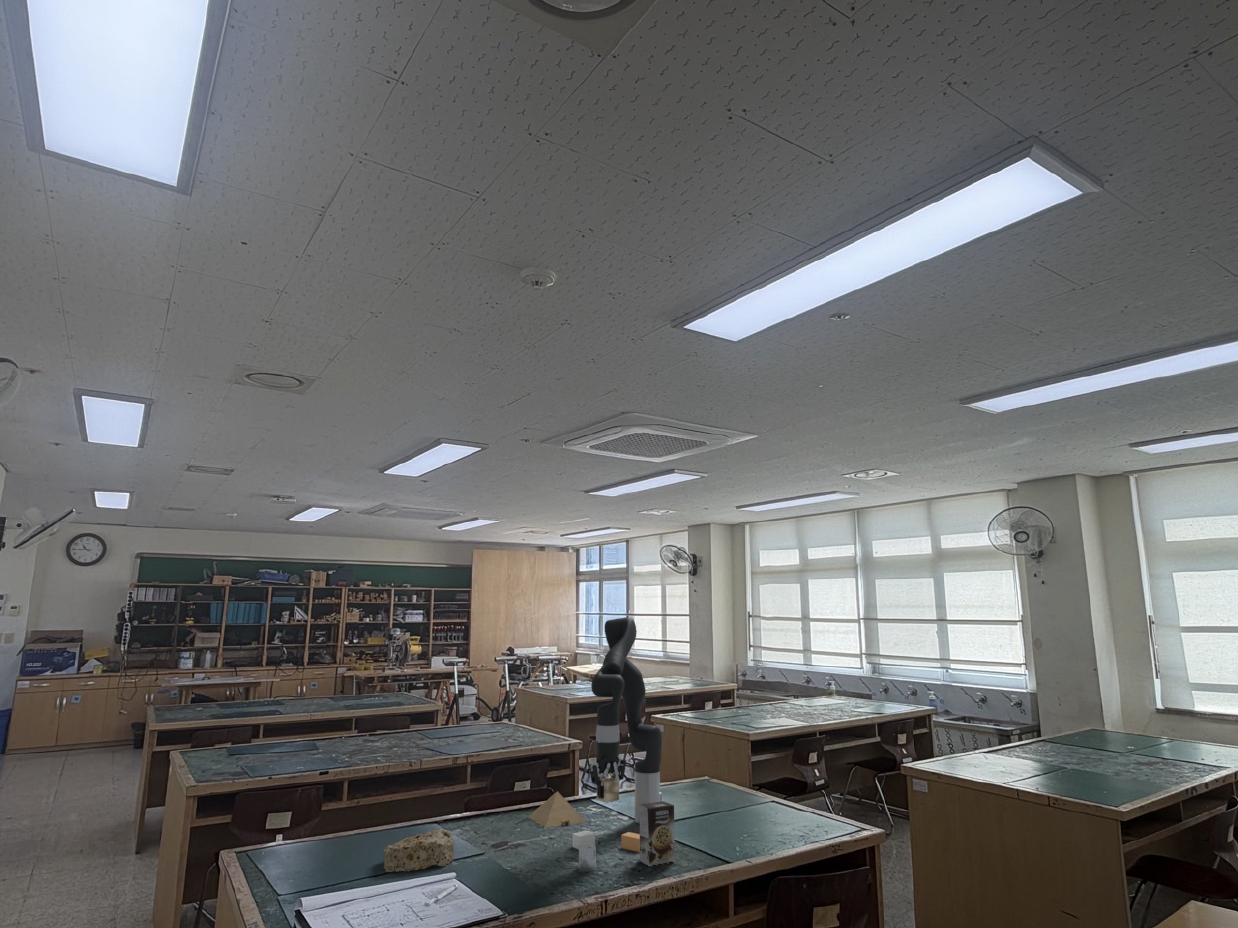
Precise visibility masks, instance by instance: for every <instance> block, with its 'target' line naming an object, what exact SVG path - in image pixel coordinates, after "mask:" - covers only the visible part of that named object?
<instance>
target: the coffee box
mask: <svg viewBox="0 0 1238 928" xmlns="http://www.w3.org/2000/svg"><path fill="white" fill-rule="evenodd" d="M639 834H640V852H639V861H640V862H641V863H643V864H644V865H646V866H647V865H648V867H654V866H653V865H656V866H659V865H658V864H662V865H664V864H663V863H667V864H669V863H668V862H672V861H675V805H674V804H672V803H669V802H667V801H663V800H662V802H655V803H646V804H640V824H639Z"/></svg>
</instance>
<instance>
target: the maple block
mask: <svg viewBox="0 0 1238 928" xmlns="http://www.w3.org/2000/svg"><path fill="white" fill-rule="evenodd" d="M600 781H601V780H600ZM603 786H604V798H603V799H600V798H598V796H597V795H596V801H599V802H602V803H603V802H604V803H607V804H608V803H612V802H616V801H617V802H618V801H620V781H619V779H615V778H611V776H607V778H606V779H605V781H604V785H603Z"/></svg>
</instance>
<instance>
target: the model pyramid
mask: <svg viewBox="0 0 1238 928" xmlns="http://www.w3.org/2000/svg"><path fill="white" fill-rule="evenodd" d="M529 818H530V819H531V820H532V821H534V822H535V823H537V824H538V825H539V826H542V827H543V826H544V827H543V828H545V827H548V828H551V827H550V826H555V827H560V826H563V827H565V826H566V825H567V826H571V825H575V824H581V823H585V822H587V821H586V820H585V819H584V818H583V817H582V816H581V815H580V813H579V812H578V811H577V810H576V809H575V808H574V807H573V806H572V805H571V804H570V803H569V802H568V801H567V800H566V799H565V797H564V796H563V795H561V793H560V792H559V791H556V792H554V794H552V795H550V797H548V799H547V800H545V801H544V802H543V803H542V804H540V806H539V807H537V808H536V809H535V810H534V811H533V812H532V813H530V815H528V819H529ZM580 822H581V823H580Z"/></svg>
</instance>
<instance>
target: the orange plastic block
mask: <svg viewBox="0 0 1238 928" xmlns="http://www.w3.org/2000/svg"><path fill="white" fill-rule="evenodd" d="M620 836H621V837H620V838H621V839H620V840H621V841H620V846H621V847H620V848H621V849H624V850H628V851H632V852H635V853H636V852H637V853H640V833H635V832H629V831H627V832H625V833H623V834H621V835H620Z"/></svg>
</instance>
